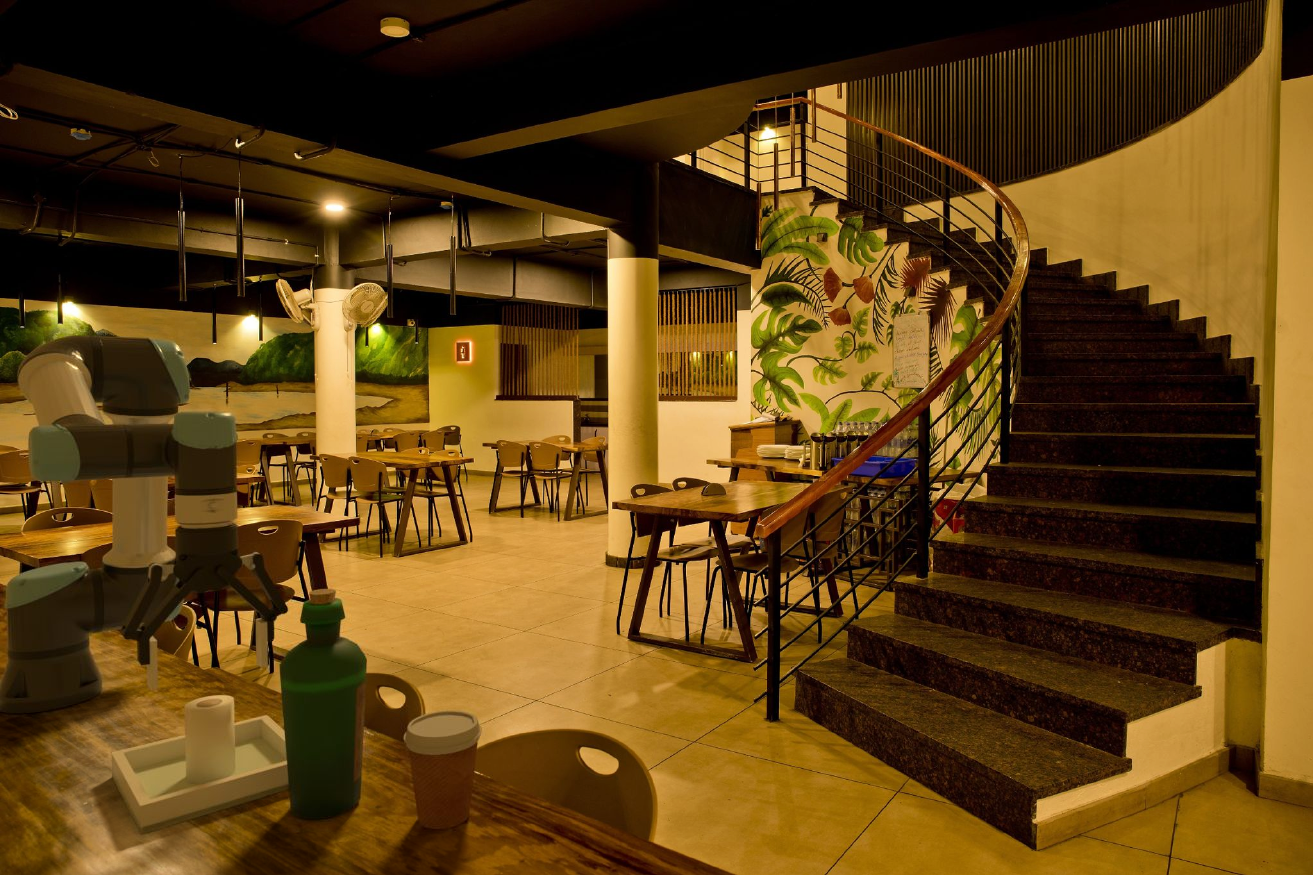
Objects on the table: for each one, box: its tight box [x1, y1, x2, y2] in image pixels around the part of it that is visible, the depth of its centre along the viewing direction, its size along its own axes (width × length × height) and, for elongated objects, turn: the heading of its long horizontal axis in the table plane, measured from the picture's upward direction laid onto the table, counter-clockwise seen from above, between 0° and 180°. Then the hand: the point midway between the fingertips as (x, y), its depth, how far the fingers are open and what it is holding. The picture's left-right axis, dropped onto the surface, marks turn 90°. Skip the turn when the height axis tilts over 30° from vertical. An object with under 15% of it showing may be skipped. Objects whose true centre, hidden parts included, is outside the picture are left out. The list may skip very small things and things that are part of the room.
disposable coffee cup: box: [403, 710, 483, 830], centre depth 101 cm, size 10×10×12 cm
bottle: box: [279, 588, 368, 820], centre depth 104 cm, size 11×11×28 cm
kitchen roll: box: [183, 694, 236, 784], centre depth 111 cm, size 6×6×10 cm
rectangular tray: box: [111, 714, 289, 835], centre depth 112 cm, size 20×20×4 cm
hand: (209, 675), depth 111 cm, fingers open, 13 cm apart
